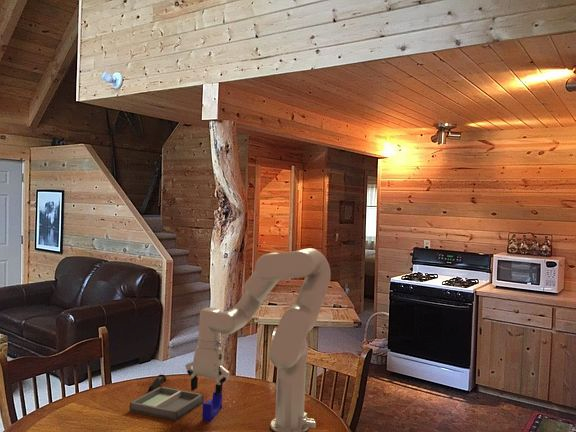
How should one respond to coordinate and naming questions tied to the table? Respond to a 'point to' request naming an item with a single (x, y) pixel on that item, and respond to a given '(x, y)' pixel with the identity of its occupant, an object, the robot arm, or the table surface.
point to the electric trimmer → (157, 382)
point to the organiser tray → (166, 403)
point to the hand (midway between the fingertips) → (206, 392)
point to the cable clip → (212, 407)
